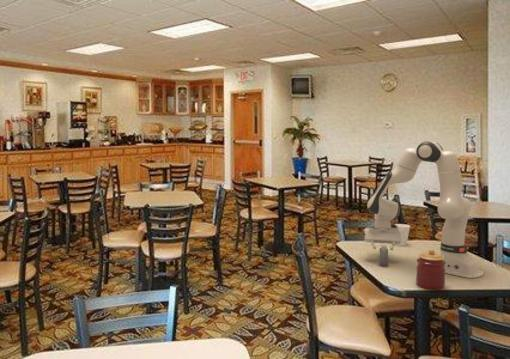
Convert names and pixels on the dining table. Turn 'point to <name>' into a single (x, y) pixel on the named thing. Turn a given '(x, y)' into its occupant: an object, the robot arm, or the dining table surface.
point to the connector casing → (383, 256)
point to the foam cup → (403, 233)
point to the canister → (430, 270)
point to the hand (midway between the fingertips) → (383, 249)
